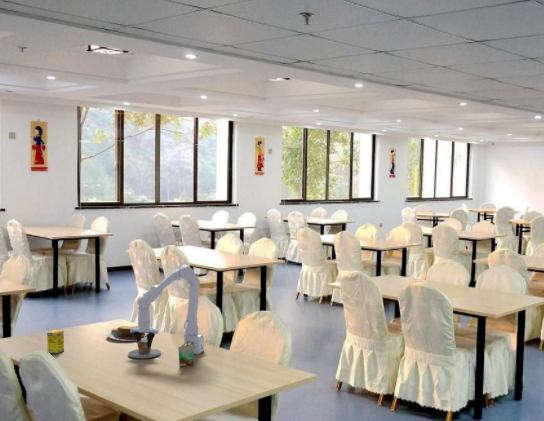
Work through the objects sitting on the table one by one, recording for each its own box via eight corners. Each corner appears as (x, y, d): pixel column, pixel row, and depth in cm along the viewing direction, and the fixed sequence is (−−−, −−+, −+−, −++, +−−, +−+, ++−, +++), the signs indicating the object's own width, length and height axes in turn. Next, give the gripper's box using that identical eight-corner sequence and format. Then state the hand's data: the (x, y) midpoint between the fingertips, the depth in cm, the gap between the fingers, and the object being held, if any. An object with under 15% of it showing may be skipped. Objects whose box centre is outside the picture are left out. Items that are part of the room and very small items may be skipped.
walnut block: (150, 351, 335) (150, 339, 335) (146, 354, 331) (146, 342, 331) (142, 350, 337) (142, 339, 336) (138, 353, 333) (138, 341, 332)
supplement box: (57, 354, 335) (57, 333, 334) (47, 354, 337) (46, 332, 336) (64, 351, 341) (63, 330, 340) (54, 350, 342) (53, 329, 342)
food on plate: (150, 330, 385) (150, 319, 385) (156, 341, 362) (156, 329, 361) (105, 333, 378) (104, 322, 377) (107, 345, 354) (107, 332, 354)
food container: (191, 369, 311) (190, 347, 310) (178, 368, 312) (178, 347, 311) (199, 361, 323) (198, 340, 322) (187, 360, 324) (186, 340, 323)
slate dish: (166, 351, 339) (166, 349, 339) (151, 360, 324) (151, 358, 324) (138, 349, 344) (138, 347, 344) (122, 358, 329) (122, 356, 329)
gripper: (126, 321, 331) (127, 348, 332) (153, 323, 327) (154, 350, 328) (133, 317, 338) (134, 344, 339) (160, 319, 334) (160, 346, 335)
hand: (144, 347), depth 334 cm, fingers open, 5 cm apart
